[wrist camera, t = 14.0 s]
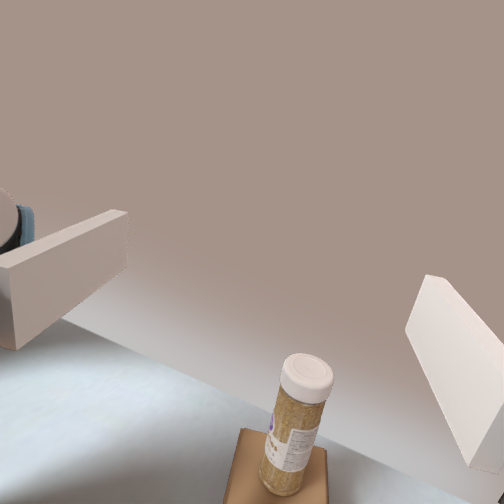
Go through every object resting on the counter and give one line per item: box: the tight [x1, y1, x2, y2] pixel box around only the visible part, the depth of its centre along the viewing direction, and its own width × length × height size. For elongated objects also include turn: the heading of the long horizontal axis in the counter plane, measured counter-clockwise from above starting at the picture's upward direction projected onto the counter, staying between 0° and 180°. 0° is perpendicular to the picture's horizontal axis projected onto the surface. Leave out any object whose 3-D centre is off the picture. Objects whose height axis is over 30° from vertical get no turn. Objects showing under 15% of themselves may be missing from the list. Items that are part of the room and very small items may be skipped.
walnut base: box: [223, 428, 329, 504], centre depth 35 cm, size 10×10×4 cm
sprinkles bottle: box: [258, 353, 334, 496], centre depth 32 cm, size 5×5×13 cm
